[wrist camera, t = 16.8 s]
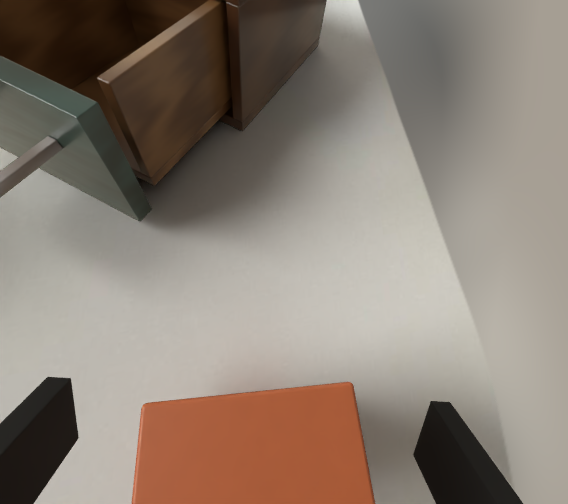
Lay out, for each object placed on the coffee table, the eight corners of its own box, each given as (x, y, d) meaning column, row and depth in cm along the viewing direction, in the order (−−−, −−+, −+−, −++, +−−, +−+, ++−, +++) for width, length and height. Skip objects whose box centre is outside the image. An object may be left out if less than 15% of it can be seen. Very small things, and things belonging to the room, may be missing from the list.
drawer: (70, 297, 17) (-62, 220, 10) (-92, 201, 18) (-306, 74, 11) (253, 99, 26) (255, -15, 19) (134, 47, 27) (94, -76, 20)
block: (292, 394, 16) (353, 380, 7) (302, 496, 14) (412, 695, 5) (208, 403, 16) (140, 403, 6) (207, 511, 14) (101, 776, 4)
